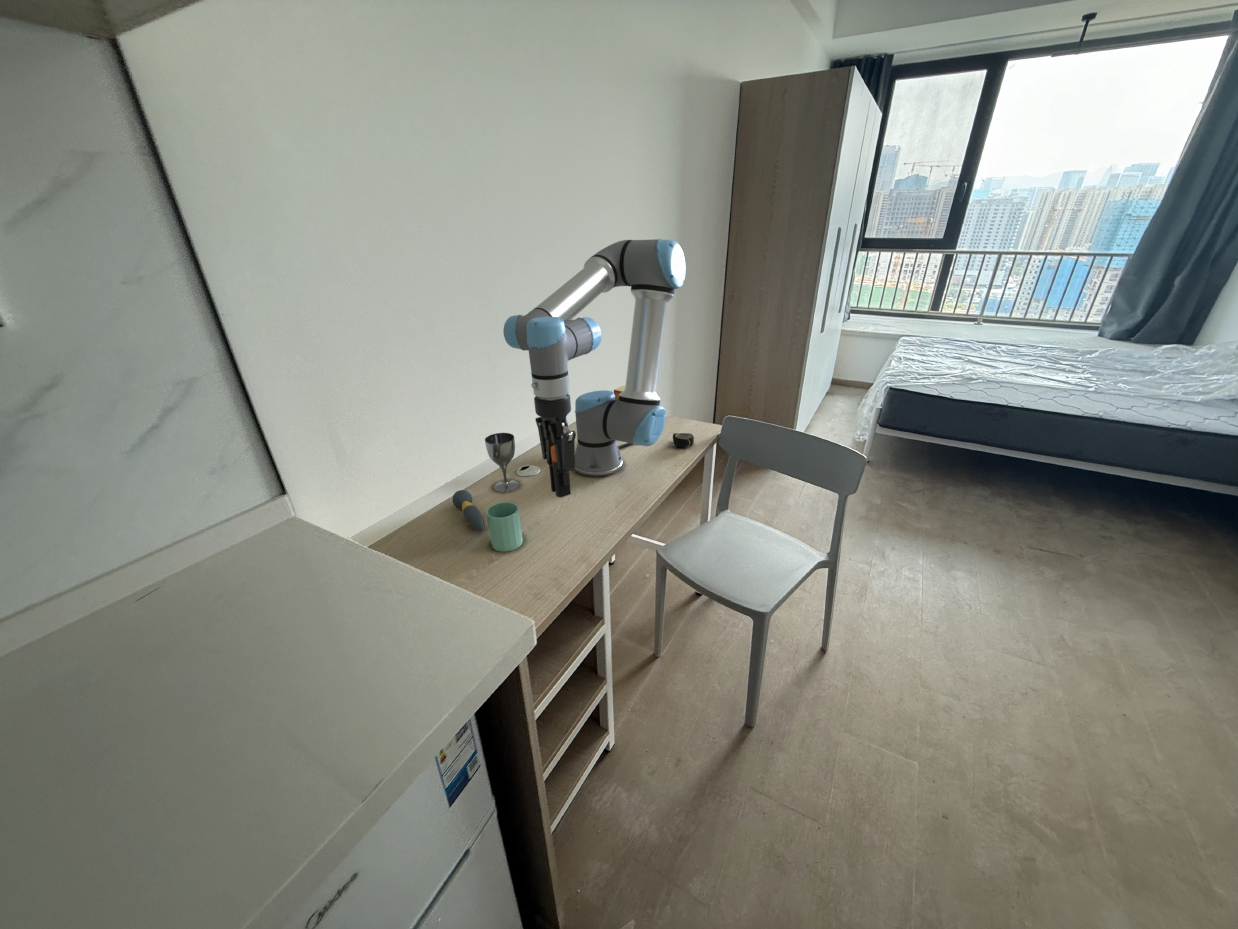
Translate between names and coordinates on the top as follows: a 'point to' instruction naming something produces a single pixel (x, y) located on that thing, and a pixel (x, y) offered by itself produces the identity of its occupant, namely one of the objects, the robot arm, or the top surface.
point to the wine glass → (502, 457)
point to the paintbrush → (468, 509)
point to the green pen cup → (504, 526)
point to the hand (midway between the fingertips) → (561, 492)
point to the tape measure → (683, 440)
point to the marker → (555, 467)
